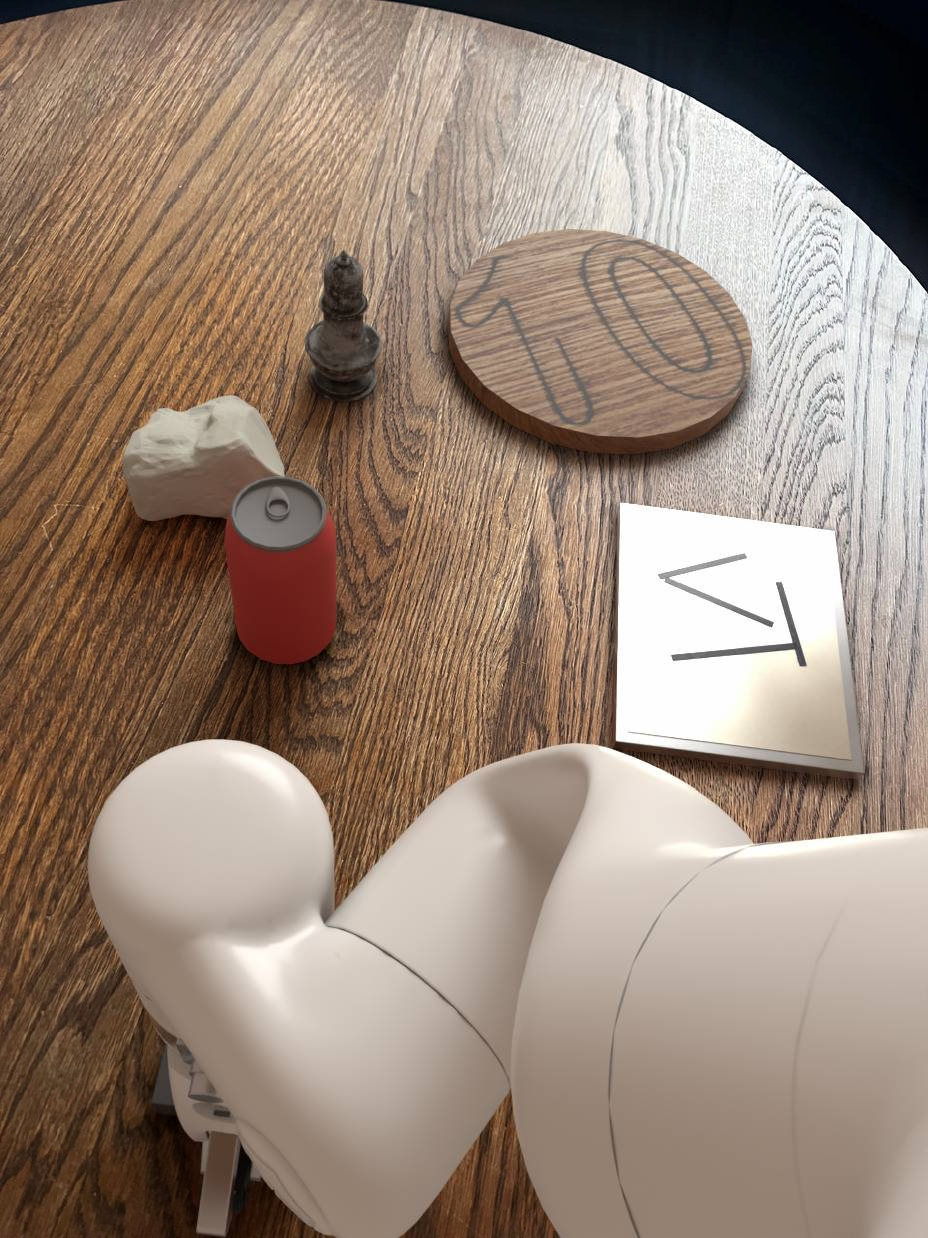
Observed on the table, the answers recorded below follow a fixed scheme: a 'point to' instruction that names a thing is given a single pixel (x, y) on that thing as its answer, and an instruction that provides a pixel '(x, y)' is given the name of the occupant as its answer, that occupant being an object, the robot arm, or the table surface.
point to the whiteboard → (732, 643)
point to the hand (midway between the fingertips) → (261, 1067)
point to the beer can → (282, 569)
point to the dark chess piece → (343, 335)
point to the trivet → (599, 341)
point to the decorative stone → (198, 459)
